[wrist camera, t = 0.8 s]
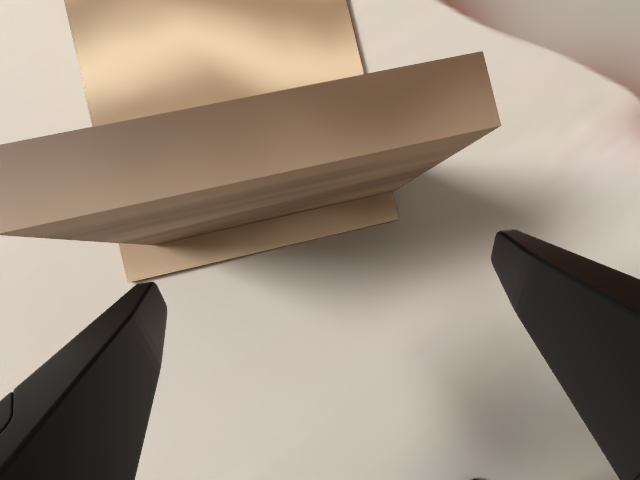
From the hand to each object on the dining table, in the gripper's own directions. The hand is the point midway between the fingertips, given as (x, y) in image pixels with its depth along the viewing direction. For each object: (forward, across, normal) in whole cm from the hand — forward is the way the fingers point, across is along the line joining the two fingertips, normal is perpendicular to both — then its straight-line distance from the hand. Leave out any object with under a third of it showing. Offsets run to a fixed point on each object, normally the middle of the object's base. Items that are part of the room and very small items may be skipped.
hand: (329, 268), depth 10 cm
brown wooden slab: (+13, +2, +5) cm, 14 cm away
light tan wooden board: (+17, +4, 0) cm, 17 cm away
